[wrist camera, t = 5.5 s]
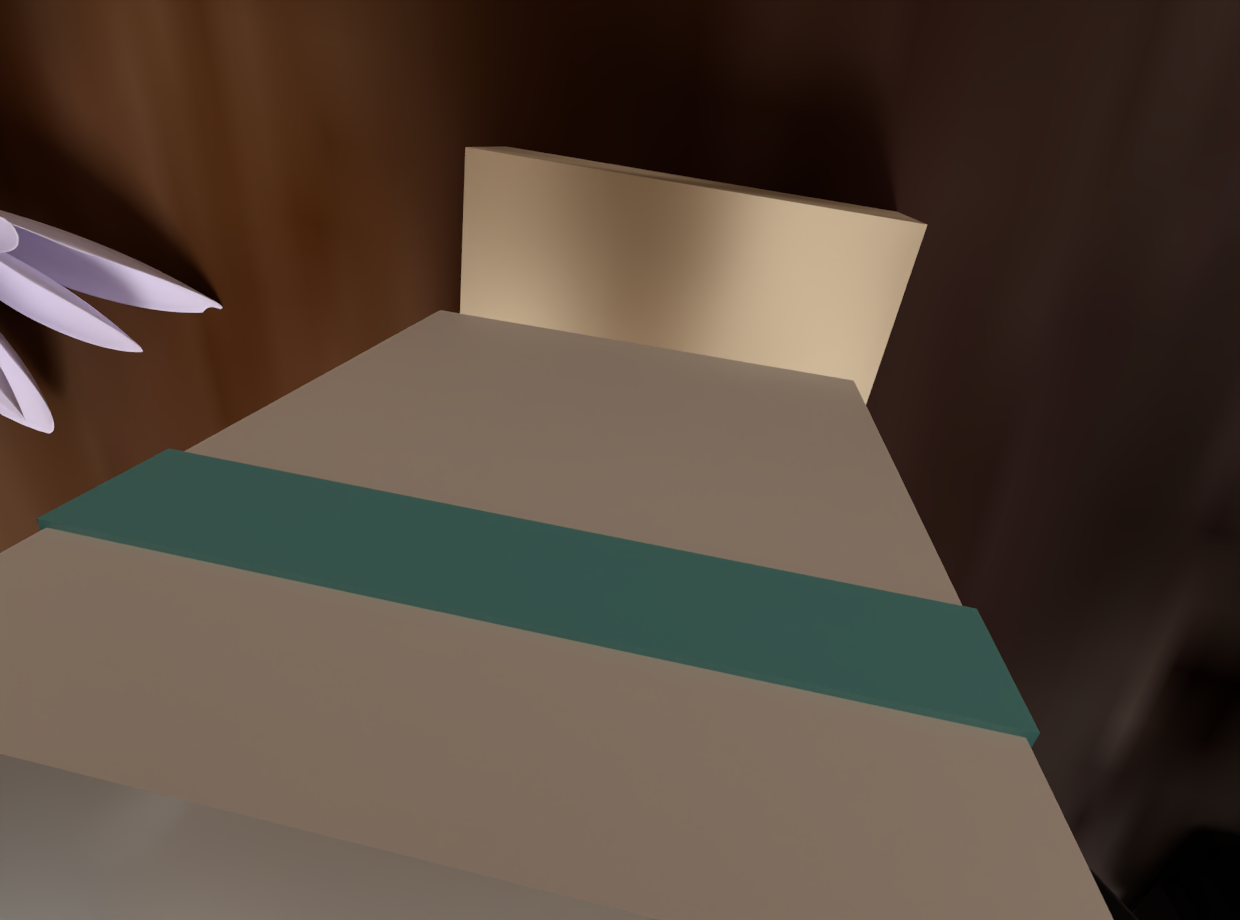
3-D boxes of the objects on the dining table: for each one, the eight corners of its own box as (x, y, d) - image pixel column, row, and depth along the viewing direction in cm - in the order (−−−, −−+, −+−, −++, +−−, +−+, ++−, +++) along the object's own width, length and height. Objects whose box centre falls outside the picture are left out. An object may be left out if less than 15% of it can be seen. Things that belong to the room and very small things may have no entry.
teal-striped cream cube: (858, 376, 8) (1199, 1048, 2) (761, 696, 11) (788, 1422, 5) (436, 305, 9) (-265, 680, 3) (437, 626, 11) (79, 1195, 5)
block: (892, 210, 15) (927, 224, 12) (790, 536, 19) (798, 601, 16) (511, 146, 16) (465, 147, 13) (491, 474, 20) (453, 526, 17)
